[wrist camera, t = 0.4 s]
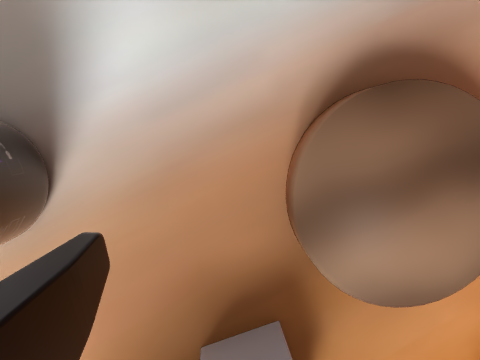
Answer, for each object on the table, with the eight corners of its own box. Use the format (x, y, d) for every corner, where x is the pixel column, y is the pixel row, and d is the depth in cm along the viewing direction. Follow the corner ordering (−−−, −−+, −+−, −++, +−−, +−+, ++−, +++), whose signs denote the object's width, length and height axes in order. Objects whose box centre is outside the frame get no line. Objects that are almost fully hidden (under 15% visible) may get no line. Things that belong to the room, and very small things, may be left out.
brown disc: (505, 249, 23) (541, 264, 20) (320, 314, 22) (332, 337, 20) (459, 56, 21) (492, 46, 18) (258, 125, 21) (263, 125, 18)
